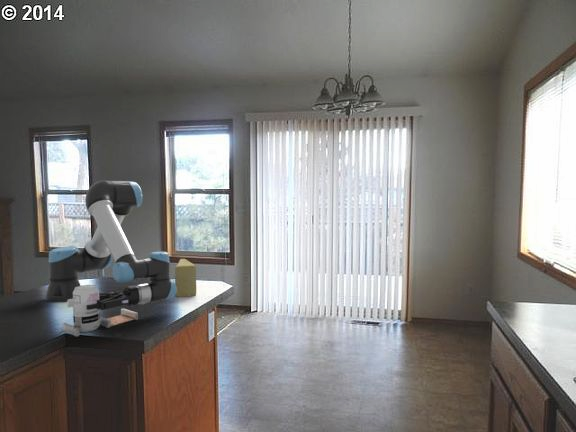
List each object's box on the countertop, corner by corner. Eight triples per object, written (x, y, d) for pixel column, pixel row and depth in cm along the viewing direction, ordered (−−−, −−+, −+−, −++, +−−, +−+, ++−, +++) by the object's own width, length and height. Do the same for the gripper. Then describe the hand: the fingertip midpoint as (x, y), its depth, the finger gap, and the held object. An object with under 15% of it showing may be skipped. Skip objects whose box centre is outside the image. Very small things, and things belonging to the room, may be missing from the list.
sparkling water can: (79, 325, 143) (78, 284, 142) (103, 324, 144) (102, 284, 143) (69, 333, 135) (68, 290, 134) (94, 332, 136) (93, 289, 135)
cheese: (173, 287, 203) (173, 258, 203) (192, 285, 206) (192, 257, 206) (175, 297, 182) (174, 265, 182) (196, 296, 185) (196, 264, 185)
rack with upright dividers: (62, 330, 137) (62, 323, 137) (123, 314, 156) (123, 308, 156) (76, 336, 131) (76, 329, 131) (137, 319, 150) (137, 312, 150)
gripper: (148, 310, 144) (81, 324, 128) (125, 299, 159) (63, 310, 143) (148, 290, 143) (80, 301, 128) (125, 281, 159) (62, 290, 143)
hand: (71, 306), depth 136 cm, fingers closed on sparkling water can, 8 cm apart
